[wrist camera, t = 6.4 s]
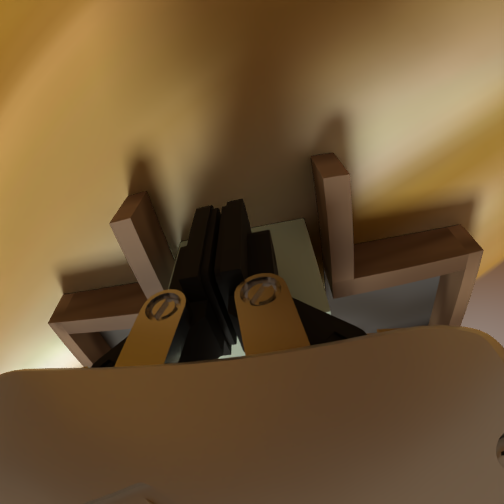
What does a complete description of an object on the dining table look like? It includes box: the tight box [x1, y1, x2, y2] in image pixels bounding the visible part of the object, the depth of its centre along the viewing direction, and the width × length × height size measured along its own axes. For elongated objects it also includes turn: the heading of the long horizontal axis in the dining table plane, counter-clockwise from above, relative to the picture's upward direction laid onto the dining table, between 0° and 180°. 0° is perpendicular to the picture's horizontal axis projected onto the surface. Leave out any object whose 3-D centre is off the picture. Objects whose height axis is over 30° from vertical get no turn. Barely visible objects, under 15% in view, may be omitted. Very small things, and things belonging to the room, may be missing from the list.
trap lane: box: [48, 153, 483, 368], centre depth 18 cm, size 23×24×5 cm
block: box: [168, 218, 331, 359], centre depth 15 cm, size 6×6×6 cm
